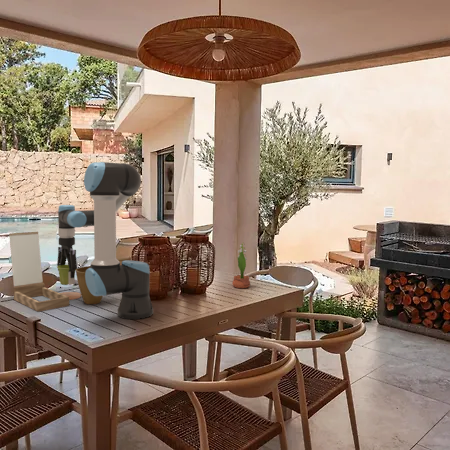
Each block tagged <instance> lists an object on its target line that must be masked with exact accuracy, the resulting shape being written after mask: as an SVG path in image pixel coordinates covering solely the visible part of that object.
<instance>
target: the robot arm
mask: <svg viewBox="0 0 450 450" xmlns="http://www.w3.org/2000/svg"><path fill="white" fill-rule="evenodd" d="M83 178H84V179H83V185H84V189H85V190H86V192H88V193H89V197H90V198H91V199H92V200H93V209H90V210H88V209H87V210H76V209H75V205H73V204H61V205H59V206H58V208H57V209H58V210H57V211H58V212H57V215H58V216H57V218H58V219H57V220H58V221H57V222H58V230H57V231H58V245H59V246H58V247H57V263H56V267H57V266H60V265H66V264H67V265H68V266H69V271H68V272H69V284H68V285H69V286H71V285H75V277H76V276H75V275H76V269H77V268H78V261H77V250H76V249H73V246H75V245H76V238H75V236H76V228H83V227H93V228H94V229H93V232H94V233H93V234H94V235H93V241H94V247H93V249H94V250H93V252H94V256H93V257H94V258H93V260H92V261H91V262H90V266H91V268H89V269H87V270H86V273H85V280H86V284H87V287H88V289H89V291H90V293H91V294H92V295H94V296H103V297H106V296H111V295H117V294H121V299H120V302H119V305H118V308H117V317H120V318H122V319H127V320H141V319H140V318H142V319H145V317H147V318H149V316H150V317H151V315H152V314H153V315H154V308H153V304H152V301H151V298H150V274H151V273H150V265H149V264H148V263H147V262H145V261H139V260H128V259H127V260H122V261H121V263H120V261H119V259H118V258H117V216H116V215H117V211H118V210H119V209H120V208H121V207H122V206H123V204H125V202H126V201H127V200H128V199H129V198H130V197H133V196H135V194H136V193H137V192H139V190H140V188H141V184H142V177H141V175H140V173H139V171H138V169H137V168H136V167H135V166H133V165H131V164H130V163H125V162H122V163H121V162H120V163H119V162H118V163H117V162H107V161H106V162H105V161H100V162H99V161H98V162H96V161H95V162H91V163H89V164H88V165H87V168H86V169H85V172H84V177H83ZM153 315H152V316H153Z"/></svg>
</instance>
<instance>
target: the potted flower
mask: <svg viewBox="0 0 450 450" xmlns="http://www.w3.org/2000/svg"><path fill="white" fill-rule="evenodd" d="M244 245H245V243H241V244H240V245H239V249H238V250H237V254H238V256H237V267H238V269H239V272H240V275H234V276H233V280H232V282H231V283H232V286H233V287H234V288H237V289H248V288H250V285H251V281H250V276H248V275H245V270H246V267H247V261H246V260H248V257H247V256H246V253H247V249H246V247H244ZM244 253H245V254H244Z"/></svg>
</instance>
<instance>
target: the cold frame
mask: <svg viewBox="0 0 450 450" xmlns="http://www.w3.org/2000/svg"><path fill="white" fill-rule="evenodd" d="M45 284H46V283H44V282H41V283H34V284H27V285H20V286H13V300H14V301H15V302H18V303H20V304H22V305H23V306H26V307H28V308H30V309H32V310H33V311H35V312H43V311H49V310H54V309H59V308H65V307H69V306H70V300H69V297H68V296H65V295H63V294H60V293H61V292H58V291H55V290H53V289H50V288H47V287H45V286H46V285H45ZM41 296H42V297H45V298H47V300H42V301H38V300H37V299H34V298H36V297H41Z"/></svg>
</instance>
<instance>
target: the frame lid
mask: <svg viewBox="0 0 450 450" xmlns="http://www.w3.org/2000/svg"><path fill="white" fill-rule="evenodd" d="M8 237H9V243H10V257H11V268H12V280H13V281H12V282H13V287H19V286H26V285H33V284H39V283H44V282H43V271H42V259H41V258H42V257H41V250H40V249H41V248H40V247H41V246H40V239H39V231H27V232H12V233H10V232H9V233H8Z"/></svg>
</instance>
